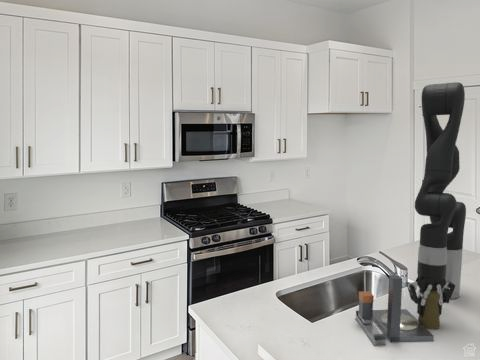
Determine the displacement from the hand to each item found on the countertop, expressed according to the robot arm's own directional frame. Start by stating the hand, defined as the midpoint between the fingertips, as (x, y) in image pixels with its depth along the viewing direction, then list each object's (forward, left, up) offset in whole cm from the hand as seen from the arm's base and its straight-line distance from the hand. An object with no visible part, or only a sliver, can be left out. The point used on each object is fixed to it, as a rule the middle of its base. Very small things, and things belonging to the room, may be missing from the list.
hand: (429, 315), depth 114 cm
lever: (-1, -19, -1) cm, 19 cm away
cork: (0, 0, -3) cm, 3 cm away
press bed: (+1, -9, -3) cm, 10 cm away
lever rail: (+3, -19, -3) cm, 19 cm away
